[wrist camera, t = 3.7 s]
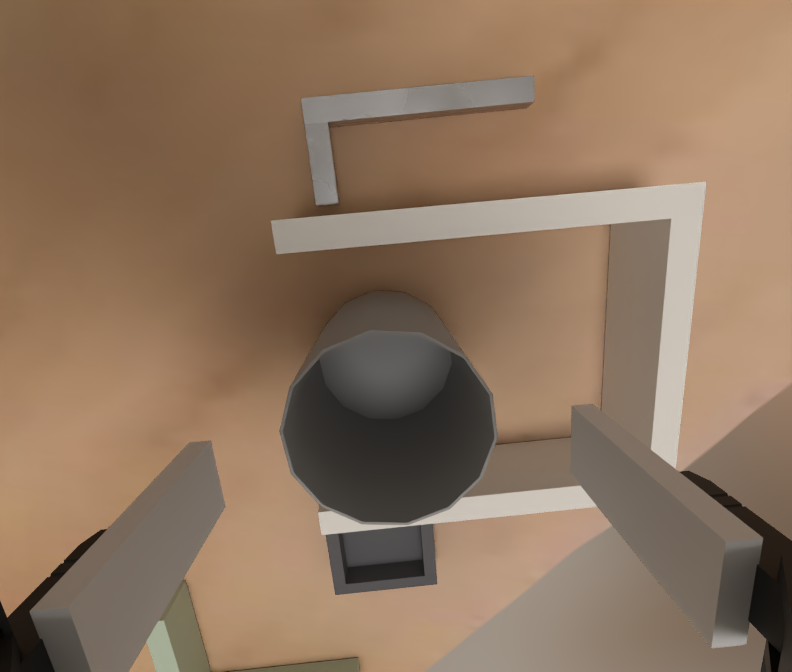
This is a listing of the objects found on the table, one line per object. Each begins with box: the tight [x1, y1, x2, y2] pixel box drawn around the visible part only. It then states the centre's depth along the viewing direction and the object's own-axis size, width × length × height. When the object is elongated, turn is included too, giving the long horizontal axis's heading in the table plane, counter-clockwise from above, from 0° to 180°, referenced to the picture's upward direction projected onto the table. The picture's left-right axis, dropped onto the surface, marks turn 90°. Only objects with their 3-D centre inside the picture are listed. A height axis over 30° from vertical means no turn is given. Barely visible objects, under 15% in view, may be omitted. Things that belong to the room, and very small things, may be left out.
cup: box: [279, 291, 498, 525], centre depth 20 cm, size 8×8×10 cm
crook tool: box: [301, 76, 534, 207], centre depth 21 cm, size 12×5×1 cm, turn 96°
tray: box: [326, 524, 437, 595], centre depth 27 cm, size 7×8×2 cm
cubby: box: [271, 182, 706, 535], centre depth 23 cm, size 20×17×5 cm
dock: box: [147, 581, 360, 672], centre depth 29 cm, size 13×10×3 cm
